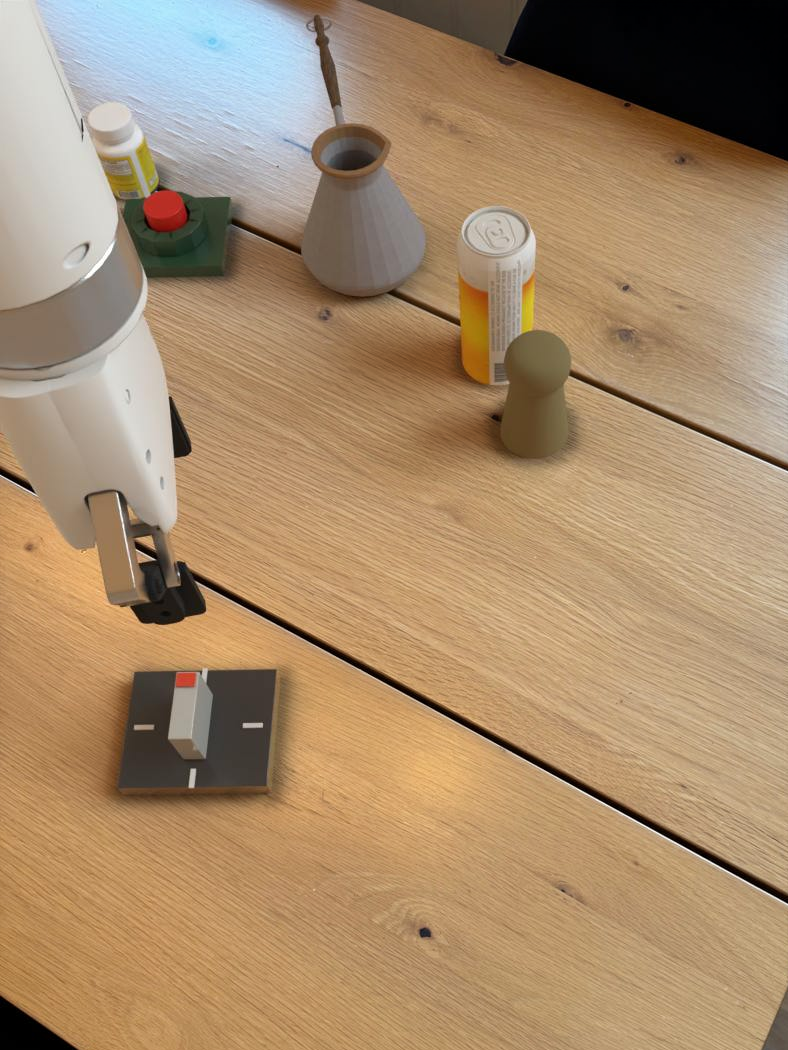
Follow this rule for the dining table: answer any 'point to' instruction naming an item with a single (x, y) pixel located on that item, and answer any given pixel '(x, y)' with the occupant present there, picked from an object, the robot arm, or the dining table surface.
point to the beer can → (494, 288)
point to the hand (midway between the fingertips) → (168, 531)
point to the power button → (165, 211)
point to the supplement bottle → (122, 152)
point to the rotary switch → (233, 740)
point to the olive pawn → (536, 395)
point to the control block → (183, 238)
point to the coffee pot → (357, 205)
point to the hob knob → (190, 715)
